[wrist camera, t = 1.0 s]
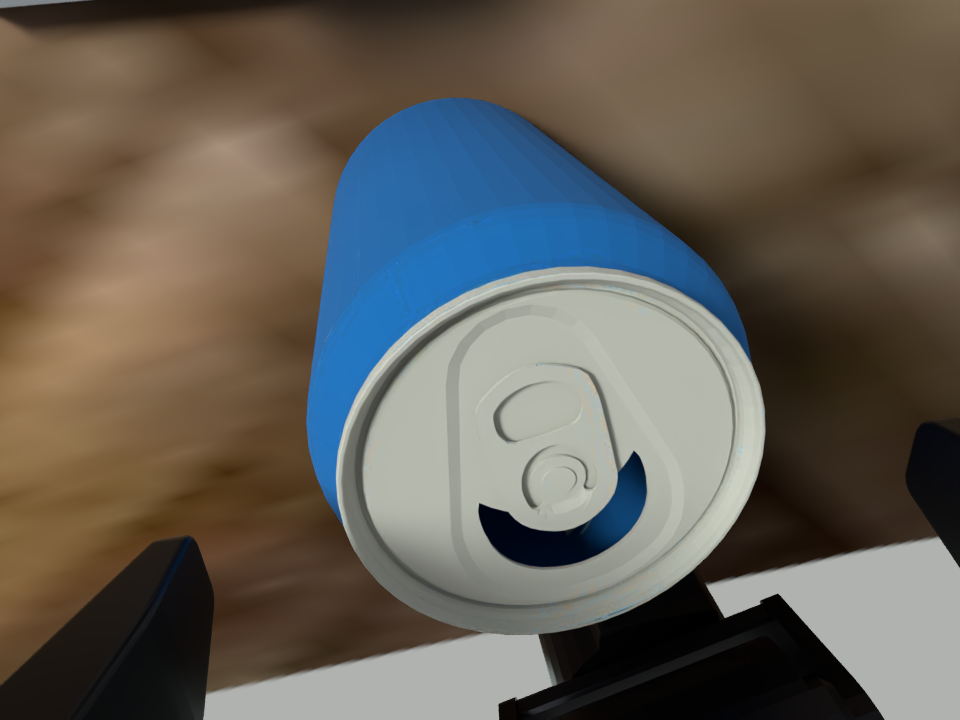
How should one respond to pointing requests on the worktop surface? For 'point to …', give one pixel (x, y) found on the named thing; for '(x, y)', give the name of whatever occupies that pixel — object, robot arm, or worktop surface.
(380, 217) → the beverage can
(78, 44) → the worktop surface
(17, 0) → the socket
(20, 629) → the worktop surface
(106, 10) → the worktop surface
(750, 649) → the robot arm
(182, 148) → the worktop surface
